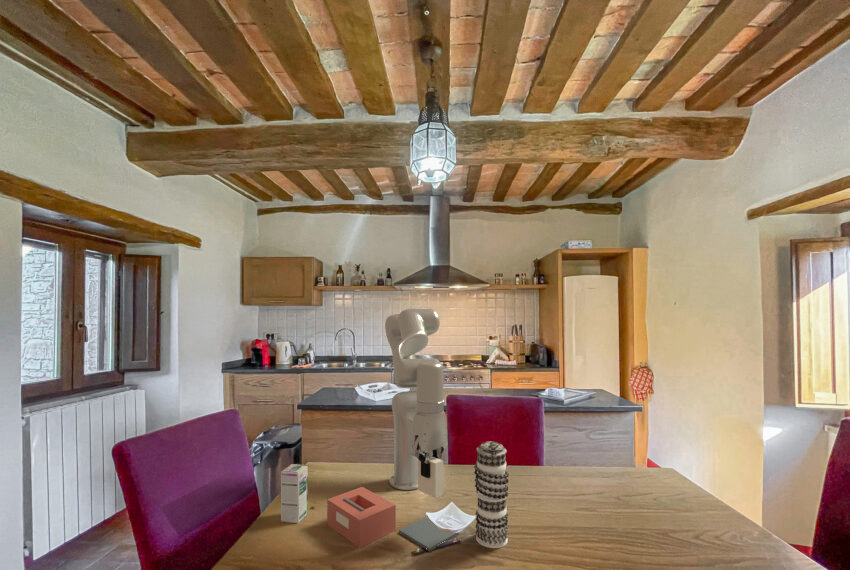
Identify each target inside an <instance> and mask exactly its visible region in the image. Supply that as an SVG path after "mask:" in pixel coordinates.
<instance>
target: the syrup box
mask: <svg viewBox="0 0 850 570" xmlns="http://www.w3.org/2000/svg"><path fill="white" fill-rule="evenodd" d="M308 467H309V466H308V464H301V463H294V464H293V463H291V464H289V466H287V467H285V468H284V469H283V470H281V471H280V521H281V522H284V523H292V524H300V522H301V521H302V520H303V519H304V518H305V517H306V516H307V515H308V514H309V496H308V494H309V490H308V489H309V481H308V480H309V478H308V477H309V472H308V471H309V468H308Z"/></svg>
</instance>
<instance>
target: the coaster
mask: <svg viewBox="0 0 850 570" xmlns="http://www.w3.org/2000/svg"><path fill="white" fill-rule="evenodd" d="M398 533H399V534H401V536H403V537H405V538H407V539H409V540H410V541H412V542H414V543H415V544H417V545H419V546H420V547H422V548H423V547H425V548H427V551H428V552H432V551H433V550H435V549H437V548H436V546H437V545H438V544H440V543H442V542H444V541H447V542H449V541H450V540H453V539H454V538H456V537H457V536H460V534H459V533H451V532H446V531H443V530H441V529H439V528H438V527H437V526H436V525H435V524H434V523H433V522H432V521H431V520H430V519H429V518H428V515H426V516H424V517H422V518H421V519H418V520H416V521H414V522H412V523H410V524H408V525H406V526H403V527H402V528H400V529H398ZM448 540H449V541H448ZM425 548H424V549H425Z"/></svg>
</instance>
